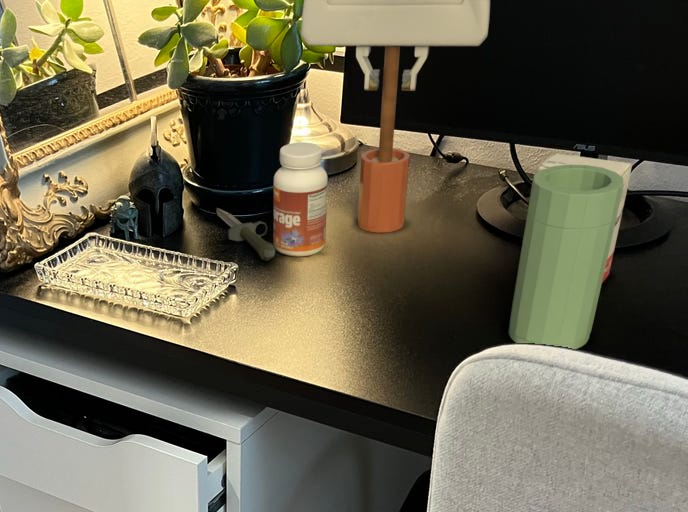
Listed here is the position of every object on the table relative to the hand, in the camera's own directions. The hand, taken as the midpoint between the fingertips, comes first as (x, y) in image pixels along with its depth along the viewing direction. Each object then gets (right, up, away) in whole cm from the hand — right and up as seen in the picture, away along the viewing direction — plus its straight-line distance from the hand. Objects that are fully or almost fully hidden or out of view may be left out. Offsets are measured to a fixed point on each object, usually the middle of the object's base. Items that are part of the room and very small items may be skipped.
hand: (390, 89), depth 114 cm
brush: (+1, -11, +10) cm, 15 cm away
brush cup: (+1, -11, +10) cm, 15 cm away
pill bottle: (-10, -16, +6) cm, 20 cm away
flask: (+14, -32, -13) cm, 37 cm away
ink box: (+19, -22, -3) cm, 29 cm away
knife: (-19, -13, +8) cm, 24 cm away
